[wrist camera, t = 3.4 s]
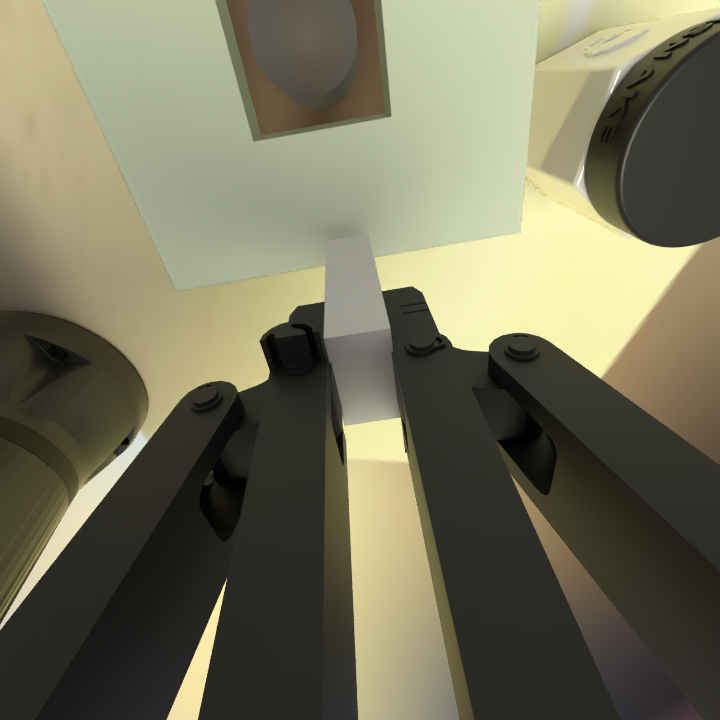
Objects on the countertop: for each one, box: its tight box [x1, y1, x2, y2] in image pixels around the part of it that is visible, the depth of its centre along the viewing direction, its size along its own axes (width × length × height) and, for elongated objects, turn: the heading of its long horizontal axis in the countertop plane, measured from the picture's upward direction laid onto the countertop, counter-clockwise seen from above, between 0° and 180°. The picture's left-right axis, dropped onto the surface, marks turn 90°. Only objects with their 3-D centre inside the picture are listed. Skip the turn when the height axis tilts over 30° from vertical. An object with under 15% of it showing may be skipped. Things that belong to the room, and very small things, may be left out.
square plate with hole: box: [42, 0, 541, 291], centre depth 13 cm, size 15×15×2 cm
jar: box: [525, 8, 720, 247], centre depth 20 cm, size 9×8×12 cm
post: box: [226, 0, 385, 135], centre depth 17 cm, size 16×16×14 cm
